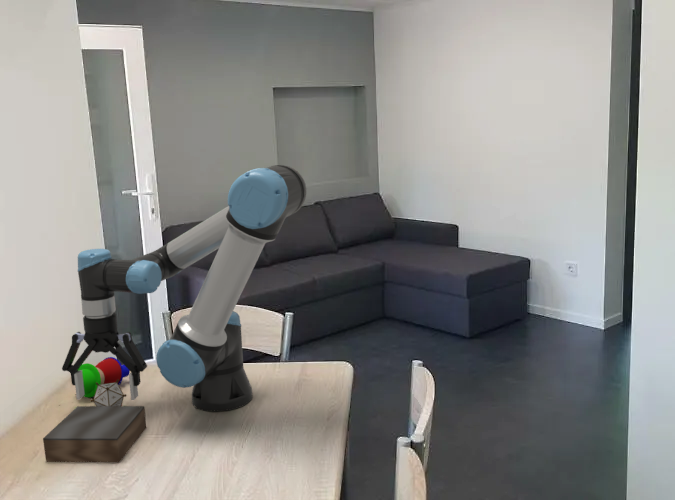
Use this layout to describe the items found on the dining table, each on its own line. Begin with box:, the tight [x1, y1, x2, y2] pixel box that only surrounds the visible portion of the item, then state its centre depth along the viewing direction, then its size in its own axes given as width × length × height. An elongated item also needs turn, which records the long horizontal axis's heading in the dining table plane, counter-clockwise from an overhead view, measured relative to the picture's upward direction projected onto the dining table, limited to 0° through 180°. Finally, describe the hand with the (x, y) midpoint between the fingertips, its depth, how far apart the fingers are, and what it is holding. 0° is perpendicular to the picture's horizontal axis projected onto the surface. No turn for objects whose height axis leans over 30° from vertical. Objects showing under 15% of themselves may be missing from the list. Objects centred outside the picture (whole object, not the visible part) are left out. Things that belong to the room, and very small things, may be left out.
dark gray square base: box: [42, 405, 147, 463], centre depth 149 cm, size 16×16×5 cm
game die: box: [90, 379, 128, 406], centre depth 165 cm, size 9×8×10 cm
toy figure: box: [74, 356, 131, 400], centre depth 179 cm, size 9×10×15 cm
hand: (107, 397), depth 165 cm, fingers open, 13 cm apart
